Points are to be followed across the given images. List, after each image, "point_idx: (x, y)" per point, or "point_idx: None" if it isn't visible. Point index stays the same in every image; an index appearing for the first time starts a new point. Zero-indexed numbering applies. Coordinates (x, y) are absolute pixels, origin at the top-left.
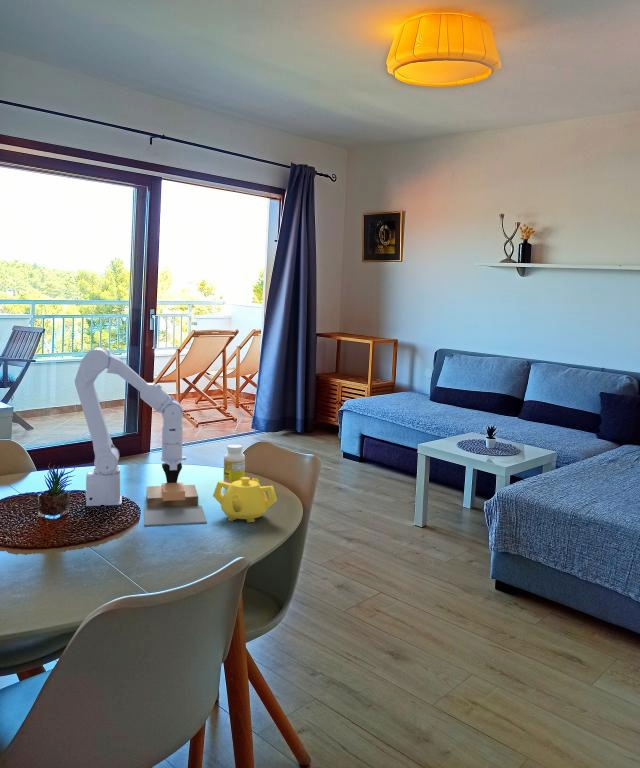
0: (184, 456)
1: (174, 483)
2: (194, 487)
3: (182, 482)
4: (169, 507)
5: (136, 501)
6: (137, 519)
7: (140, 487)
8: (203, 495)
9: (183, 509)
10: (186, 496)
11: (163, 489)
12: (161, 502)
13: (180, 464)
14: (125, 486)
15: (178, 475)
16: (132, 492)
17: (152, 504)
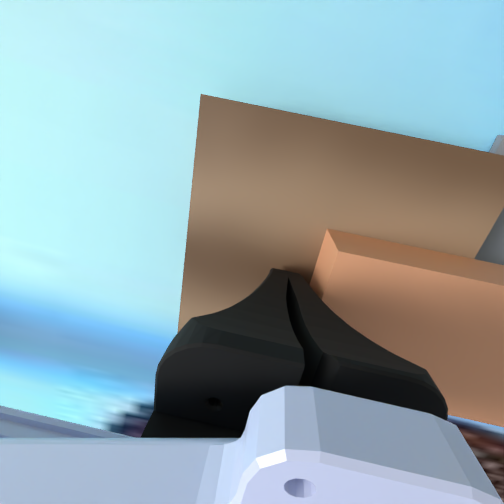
0: (283, 485)
1: (339, 314)
2: (277, 118)
3: (339, 253)
4: None
5: None
6: (475, 431)
7: (56, 323)
8: (255, 44)
9: (500, 259)
10: (472, 242)
11: (450, 410)
12: None
13: (297, 374)
14: (41, 364)
15: (346, 323)
16: (125, 363)
17: None
